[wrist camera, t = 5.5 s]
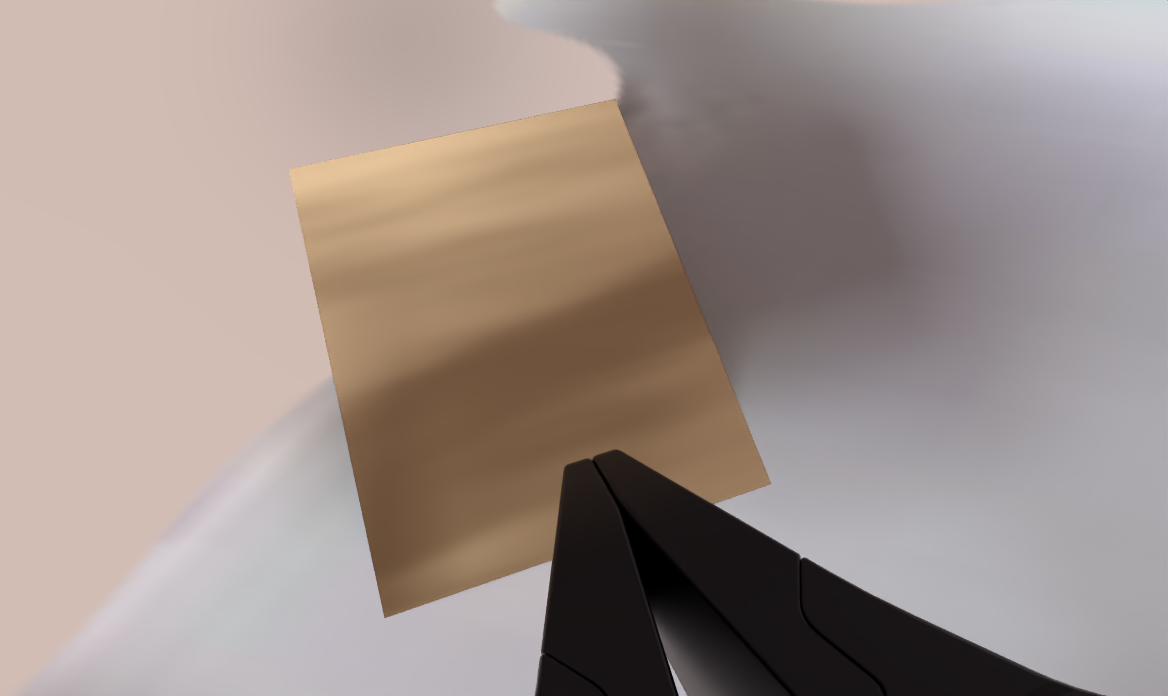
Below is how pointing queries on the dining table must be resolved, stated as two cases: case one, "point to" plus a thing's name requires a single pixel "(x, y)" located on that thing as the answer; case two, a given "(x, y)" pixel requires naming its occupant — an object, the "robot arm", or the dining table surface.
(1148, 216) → the dining table surface
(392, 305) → the oak block
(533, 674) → the dining table surface
